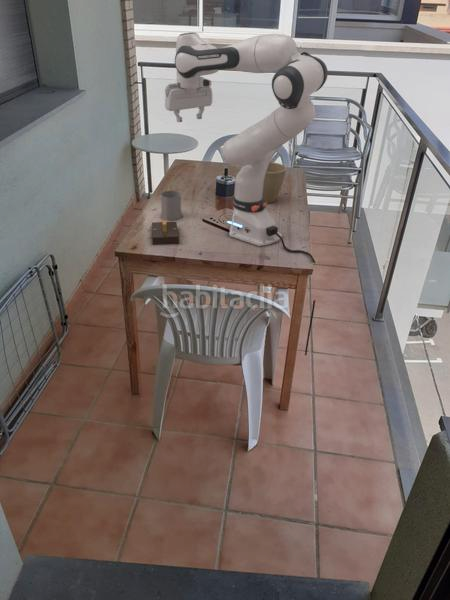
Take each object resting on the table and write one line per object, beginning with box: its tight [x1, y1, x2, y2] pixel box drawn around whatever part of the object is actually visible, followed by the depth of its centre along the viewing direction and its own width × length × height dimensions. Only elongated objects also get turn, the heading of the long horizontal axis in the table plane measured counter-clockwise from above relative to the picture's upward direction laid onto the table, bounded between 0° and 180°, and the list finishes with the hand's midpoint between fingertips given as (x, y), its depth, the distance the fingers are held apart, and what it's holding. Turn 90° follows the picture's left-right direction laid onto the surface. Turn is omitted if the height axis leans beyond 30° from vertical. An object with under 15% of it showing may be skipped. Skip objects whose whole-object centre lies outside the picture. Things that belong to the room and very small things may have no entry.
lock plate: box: [151, 221, 180, 245], centre depth 186 cm, size 14×10×3 cm
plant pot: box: [262, 161, 287, 204], centre depth 217 cm, size 15×15×16 cm
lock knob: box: [161, 218, 167, 232], centre depth 185 cm, size 5×1×3 cm, turn 8°
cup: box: [160, 190, 182, 221], centre depth 201 cm, size 8×8×10 cm
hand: (189, 120), depth 184 cm, fingers open, 8 cm apart
